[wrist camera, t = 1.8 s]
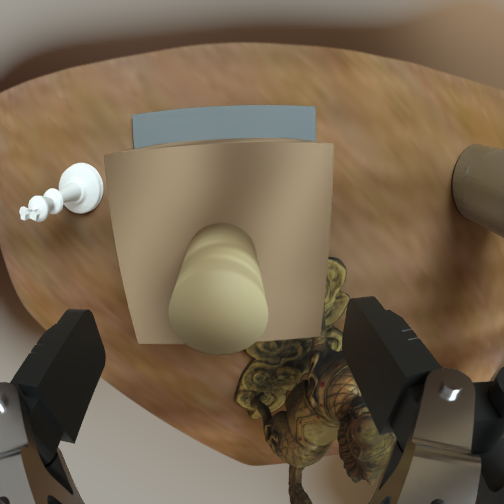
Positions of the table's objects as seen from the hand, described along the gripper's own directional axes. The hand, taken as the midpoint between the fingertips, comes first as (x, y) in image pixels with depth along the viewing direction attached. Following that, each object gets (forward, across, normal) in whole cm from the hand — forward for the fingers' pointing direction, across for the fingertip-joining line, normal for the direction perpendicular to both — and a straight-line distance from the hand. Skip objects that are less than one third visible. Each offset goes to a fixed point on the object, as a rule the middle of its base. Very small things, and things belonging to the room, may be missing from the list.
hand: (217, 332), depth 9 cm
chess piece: (+20, +14, -2) cm, 25 cm away
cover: (+19, 0, 0) cm, 19 cm away
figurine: (+20, -6, +18) cm, 27 cm away
